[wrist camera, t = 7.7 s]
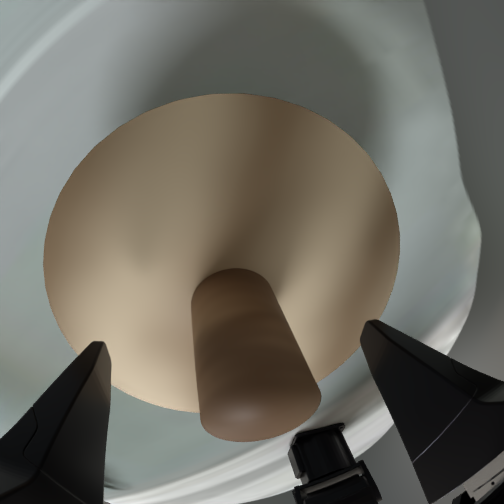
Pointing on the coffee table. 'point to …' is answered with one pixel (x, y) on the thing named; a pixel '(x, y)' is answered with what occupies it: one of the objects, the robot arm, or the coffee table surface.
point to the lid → (223, 258)
